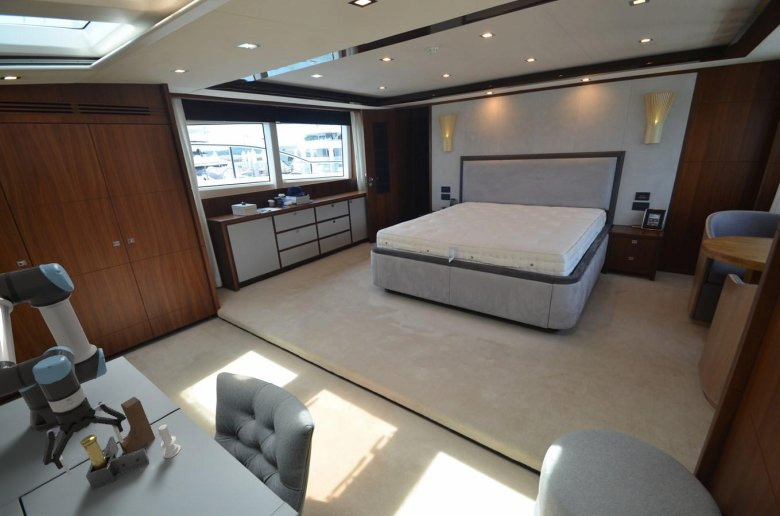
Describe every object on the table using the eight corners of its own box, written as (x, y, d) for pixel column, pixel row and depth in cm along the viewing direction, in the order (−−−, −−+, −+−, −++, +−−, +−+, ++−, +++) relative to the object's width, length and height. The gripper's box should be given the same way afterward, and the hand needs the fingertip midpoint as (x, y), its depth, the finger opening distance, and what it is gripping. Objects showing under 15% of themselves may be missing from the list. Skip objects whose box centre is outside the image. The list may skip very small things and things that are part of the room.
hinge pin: (98, 479, 111) (78, 441, 105) (112, 470, 114) (93, 432, 108) (102, 485, 109) (82, 446, 103) (116, 475, 112) (97, 437, 106)
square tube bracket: (107, 452, 121) (101, 440, 119) (155, 436, 126) (150, 423, 124) (92, 489, 108) (85, 476, 106) (147, 469, 113) (141, 456, 111)
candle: (166, 461, 116) (155, 435, 112) (161, 452, 119) (151, 426, 115) (183, 450, 119) (173, 424, 115) (178, 442, 123) (168, 417, 119)
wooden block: (128, 457, 118) (110, 417, 112) (122, 451, 121) (104, 412, 115) (155, 438, 125) (140, 400, 119) (150, 433, 128) (134, 395, 122)
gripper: (13, 439, 89) (47, 495, 97) (123, 383, 108) (144, 433, 115) (8, 427, 94) (41, 481, 101) (115, 375, 112) (136, 424, 120)
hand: (96, 456), depth 108 cm, fingers open, 13 cm apart
